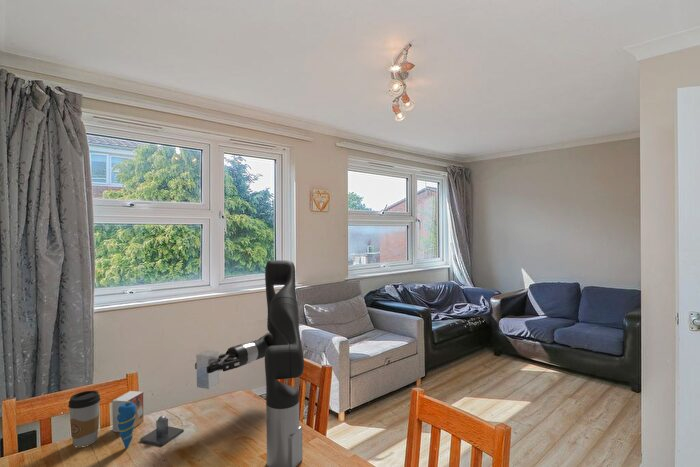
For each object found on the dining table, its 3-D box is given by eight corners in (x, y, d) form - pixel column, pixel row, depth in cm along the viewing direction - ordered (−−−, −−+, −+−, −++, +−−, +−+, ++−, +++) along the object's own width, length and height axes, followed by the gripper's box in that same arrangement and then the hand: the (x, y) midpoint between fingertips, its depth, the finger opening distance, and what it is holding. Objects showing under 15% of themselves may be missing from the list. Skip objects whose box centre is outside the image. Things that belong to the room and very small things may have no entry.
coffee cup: (62, 447, 119) (61, 399, 118) (87, 434, 127) (87, 388, 126) (82, 452, 116) (81, 402, 116) (107, 437, 124) (106, 391, 124)
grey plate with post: (183, 433, 127) (183, 411, 127) (162, 447, 119) (162, 425, 119) (162, 428, 130) (162, 407, 130) (139, 442, 122) (139, 420, 122)
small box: (126, 433, 127) (126, 401, 127) (112, 431, 128) (111, 400, 128) (144, 421, 135) (143, 391, 134) (130, 420, 136) (129, 390, 136)
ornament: (119, 445, 120) (118, 397, 120) (138, 441, 122) (137, 394, 121) (116, 454, 115) (115, 404, 115) (135, 450, 117) (134, 401, 117)
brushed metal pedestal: (219, 383, 132) (218, 351, 132) (208, 389, 127) (208, 355, 127) (207, 381, 134) (206, 349, 133) (196, 387, 129) (196, 354, 129)
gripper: (229, 341, 146) (188, 353, 132) (255, 347, 138) (214, 361, 124) (230, 361, 146) (189, 375, 132) (255, 368, 138) (214, 384, 124)
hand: (201, 368), depth 128 cm, fingers closed on brushed metal pedestal, 6 cm apart
